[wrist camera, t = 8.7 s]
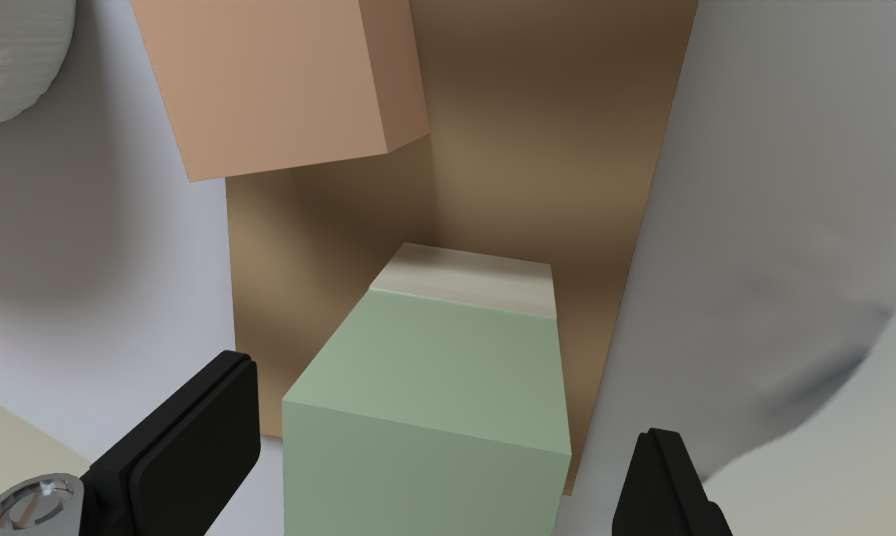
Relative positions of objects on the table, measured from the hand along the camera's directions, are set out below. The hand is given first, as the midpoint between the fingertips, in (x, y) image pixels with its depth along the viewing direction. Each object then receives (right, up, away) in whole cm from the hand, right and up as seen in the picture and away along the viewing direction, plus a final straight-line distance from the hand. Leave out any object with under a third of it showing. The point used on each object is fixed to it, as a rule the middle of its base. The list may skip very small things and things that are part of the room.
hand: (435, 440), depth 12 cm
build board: (0, +6, +6) cm, 8 cm away
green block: (0, +1, +2) cm, 2 cm away
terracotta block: (-3, +10, +4) cm, 11 cm away
